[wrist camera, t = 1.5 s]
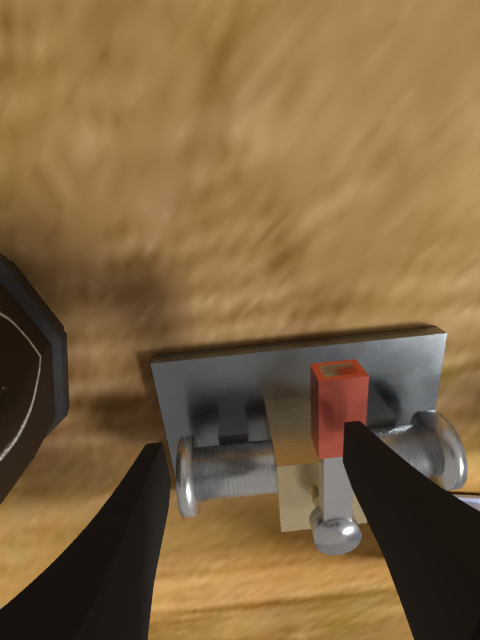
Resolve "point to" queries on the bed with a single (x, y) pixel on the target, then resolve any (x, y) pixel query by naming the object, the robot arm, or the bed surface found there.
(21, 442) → the black drum container
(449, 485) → the valve assembly
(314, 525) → the valve lever
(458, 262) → the bed surface
